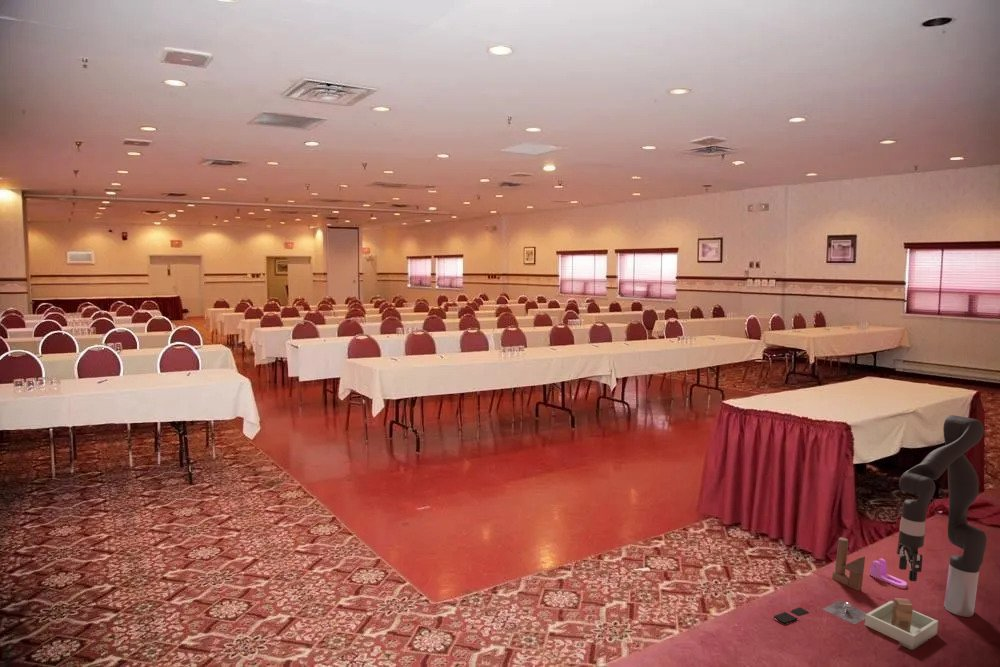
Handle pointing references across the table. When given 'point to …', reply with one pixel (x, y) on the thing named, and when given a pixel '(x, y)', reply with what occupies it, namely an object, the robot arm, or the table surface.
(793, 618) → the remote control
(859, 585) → the brown wooden angled stand
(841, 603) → the stud plate
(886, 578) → the bracket
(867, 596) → the table surface
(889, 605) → the tray
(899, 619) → the strut
